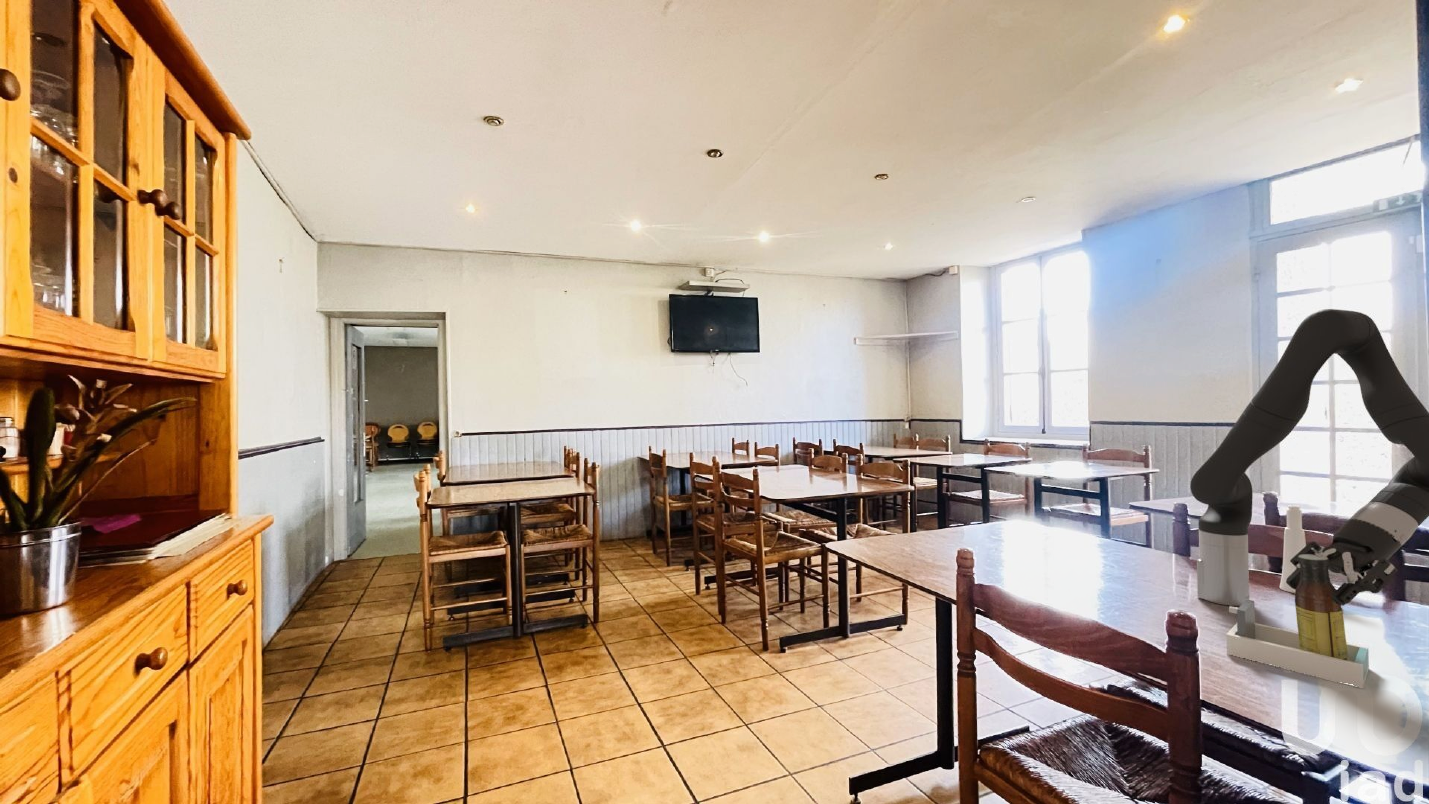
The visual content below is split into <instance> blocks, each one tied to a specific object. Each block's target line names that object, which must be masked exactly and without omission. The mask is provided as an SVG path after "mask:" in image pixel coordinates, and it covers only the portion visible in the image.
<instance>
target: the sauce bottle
mask: <svg viewBox="0 0 1429 804" xmlns="http://www.w3.org/2000/svg"><path fill="white" fill-rule="evenodd" d="M1298 562H1299V564H1300V569H1301V580H1300V582H1299V584H1298V586H1297V588H1296V591H1295V593H1294V606H1295V613H1296V615H1295V617H1296V625H1297V632H1298V635H1299V645H1300V650H1303V651H1307V652H1312V653H1316V654H1320V655H1325V656H1329V657H1333V658H1338V659H1342V660H1346V661H1347V657H1348V653H1347V644H1346V643H1347V638H1346V629H1345V619H1344V610H1343V608H1342V605H1339V604H1337V603H1336V602H1335V601H1333V600H1332V599H1331V595H1332V594H1333V593H1334V592H1335V591H1336V590H1337V588H1336V587H1335V586H1334V584H1333V583H1332V582H1331V578H1330V572H1328V566H1329V565H1330V564H1329V559H1328V558H1327V557H1324V556H1319V555H1311V554H1303V555H1299V556H1298Z"/></svg>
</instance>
